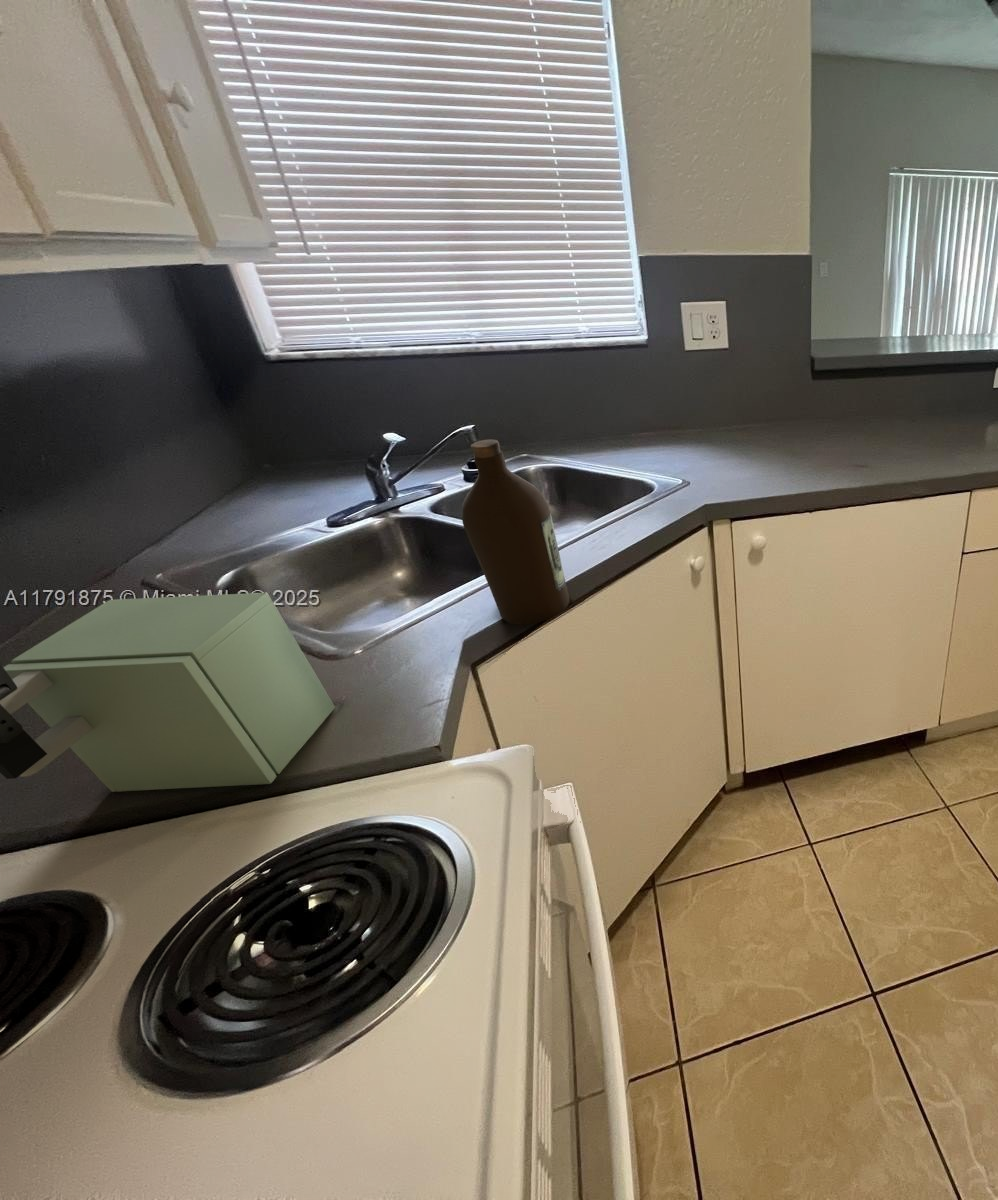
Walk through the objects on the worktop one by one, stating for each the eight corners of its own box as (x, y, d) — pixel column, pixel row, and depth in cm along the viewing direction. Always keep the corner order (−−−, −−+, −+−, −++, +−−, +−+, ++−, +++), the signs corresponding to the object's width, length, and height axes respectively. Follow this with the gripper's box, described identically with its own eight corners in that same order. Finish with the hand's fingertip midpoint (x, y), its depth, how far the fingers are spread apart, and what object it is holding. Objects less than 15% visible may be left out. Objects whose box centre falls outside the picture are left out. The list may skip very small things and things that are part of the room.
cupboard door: (234, 838, 59) (124, 708, 50) (62, 847, 59) (-79, 717, 50) (281, 782, 65) (190, 655, 56) (125, 789, 65) (8, 663, 56)
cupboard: (283, 781, 65) (191, 652, 56) (128, 788, 65) (9, 660, 56) (339, 714, 74) (267, 592, 64) (201, 720, 73) (109, 599, 64)
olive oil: (498, 640, 85) (434, 464, 71) (497, 602, 93) (439, 437, 79) (579, 621, 88) (532, 449, 74) (571, 585, 96) (527, 424, 83)
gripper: (-68, 486, 44) (138, 730, 56) (-284, 495, 43) (-27, 738, 56) (-210, 536, 37) (59, 798, 50) (-463, 547, 37) (-128, 807, 50)
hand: (13, 766), depth 53 cm, fingers closed on cupboard door, 2 cm apart
